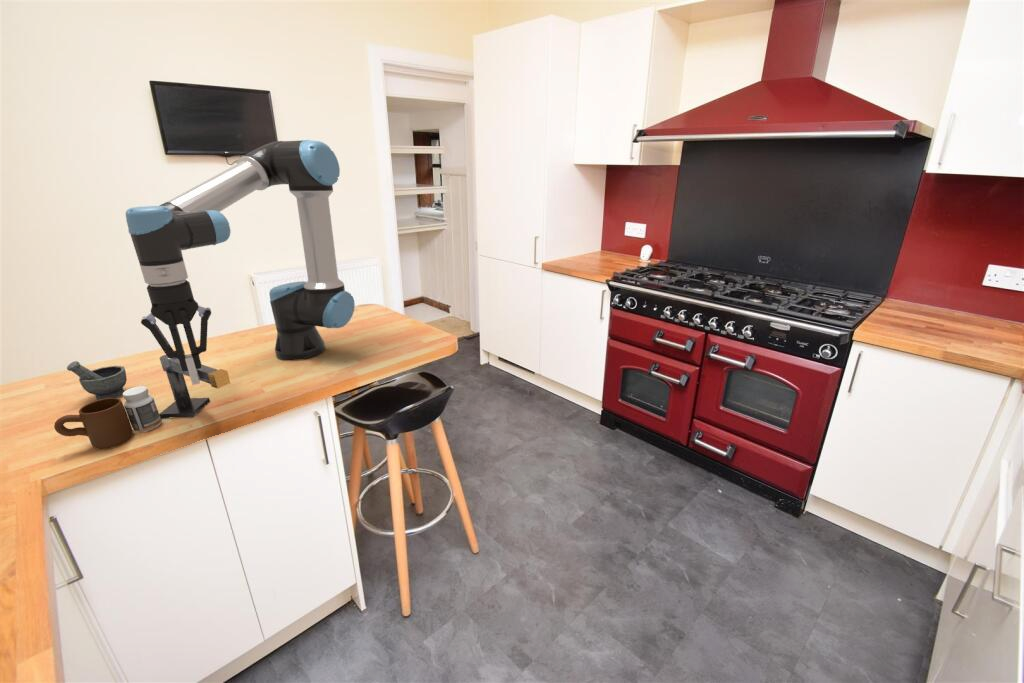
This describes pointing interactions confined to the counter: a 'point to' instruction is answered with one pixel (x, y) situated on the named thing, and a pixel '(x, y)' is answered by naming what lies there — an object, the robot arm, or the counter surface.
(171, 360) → the bar
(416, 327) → the counter surface
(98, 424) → the mug
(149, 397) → the pill bottle
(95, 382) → the mortar and pestle
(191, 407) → the post
